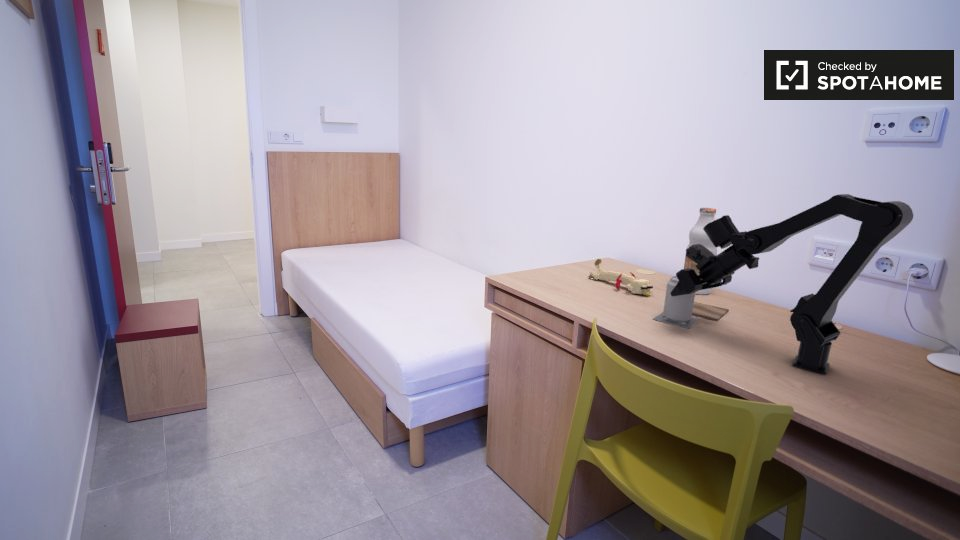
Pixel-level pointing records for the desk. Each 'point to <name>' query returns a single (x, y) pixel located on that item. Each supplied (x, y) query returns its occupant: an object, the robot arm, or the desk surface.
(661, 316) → the tile
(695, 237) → the fruit juice
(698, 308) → the board
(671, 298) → the can
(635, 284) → the cream voxel animal
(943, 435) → the desk surface
